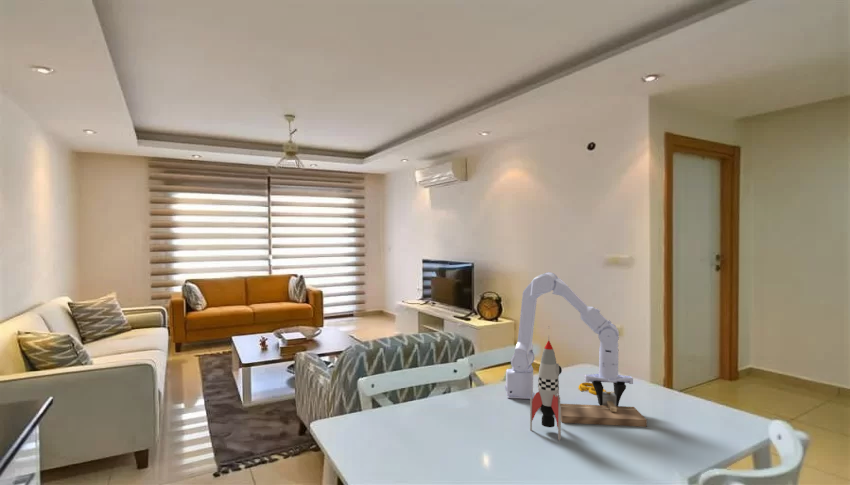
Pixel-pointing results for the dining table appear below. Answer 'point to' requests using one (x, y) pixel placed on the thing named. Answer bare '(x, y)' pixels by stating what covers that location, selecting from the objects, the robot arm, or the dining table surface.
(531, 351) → the robot arm
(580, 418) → the board
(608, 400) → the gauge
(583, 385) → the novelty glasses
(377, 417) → the dining table surface
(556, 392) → the toy
